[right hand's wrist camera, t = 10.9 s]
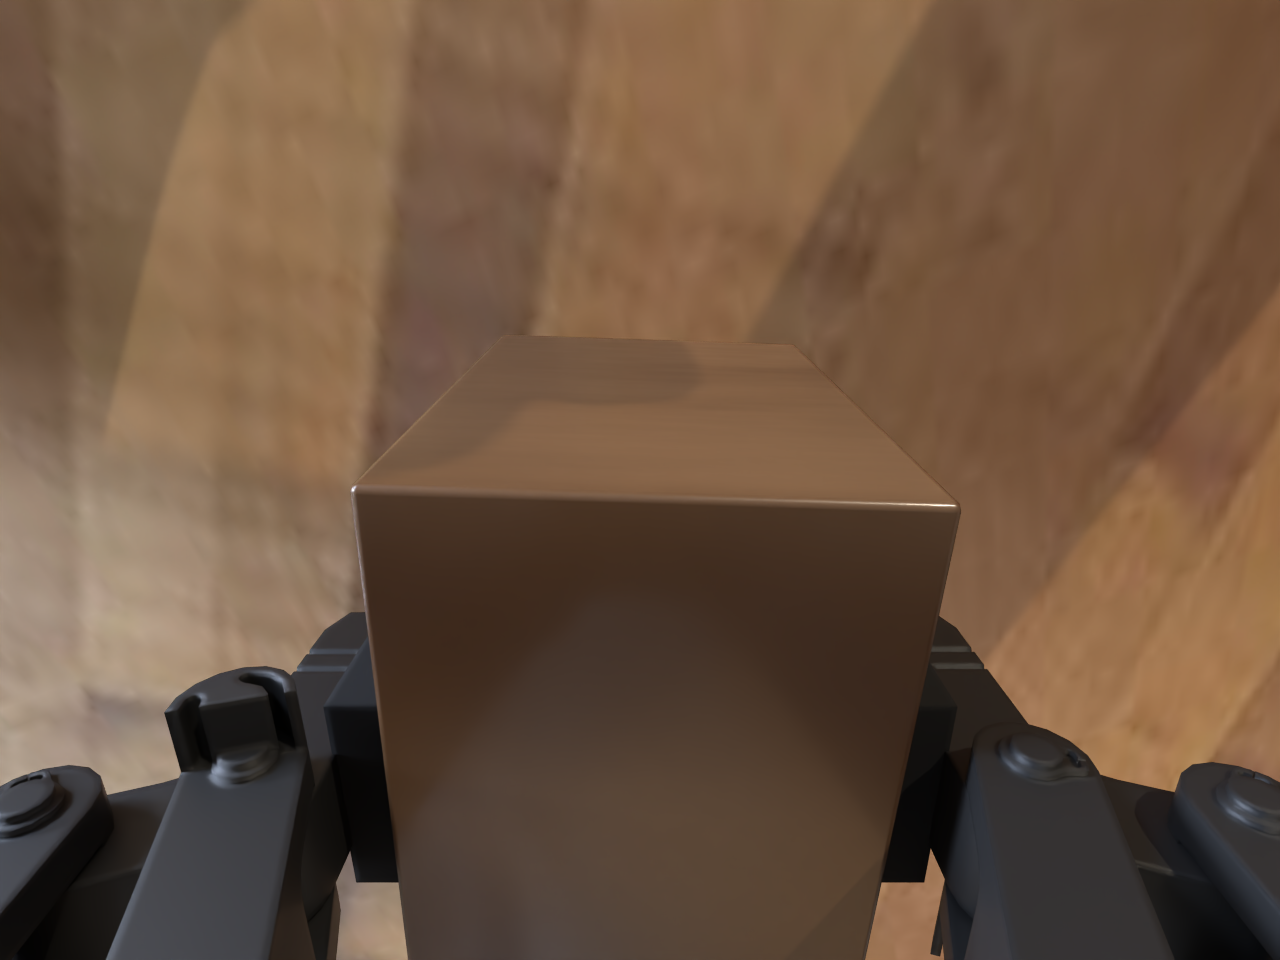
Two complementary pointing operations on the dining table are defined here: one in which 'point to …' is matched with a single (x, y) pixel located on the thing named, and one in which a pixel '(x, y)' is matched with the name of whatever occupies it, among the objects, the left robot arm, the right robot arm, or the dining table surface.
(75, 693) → the dining table surface
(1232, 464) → the dining table surface
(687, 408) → the beam
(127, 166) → the dining table surface
